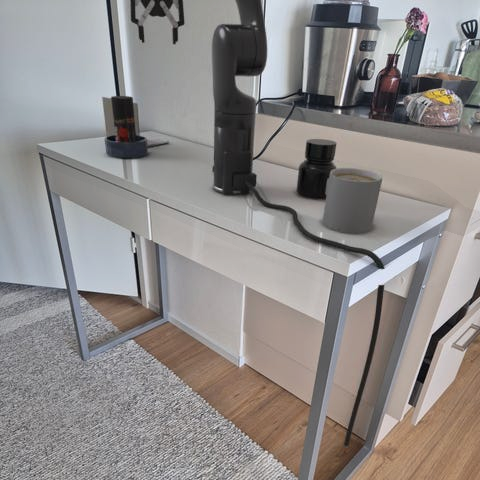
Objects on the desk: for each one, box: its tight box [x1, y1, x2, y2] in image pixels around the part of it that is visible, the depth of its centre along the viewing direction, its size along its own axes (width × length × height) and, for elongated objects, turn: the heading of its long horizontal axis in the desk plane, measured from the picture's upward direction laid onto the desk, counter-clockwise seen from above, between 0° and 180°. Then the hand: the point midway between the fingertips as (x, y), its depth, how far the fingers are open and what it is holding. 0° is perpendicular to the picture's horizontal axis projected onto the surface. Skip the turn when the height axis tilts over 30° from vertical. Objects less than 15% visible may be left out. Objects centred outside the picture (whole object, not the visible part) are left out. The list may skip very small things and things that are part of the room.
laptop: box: [101, 96, 170, 148], centre depth 143 cm, size 18×12×13 cm
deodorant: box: [110, 95, 136, 142], centre depth 127 cm, size 6×6×15 cm
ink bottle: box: [296, 138, 338, 200], centre depth 102 cm, size 10×9×12 cm
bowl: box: [104, 135, 149, 159], centre depth 130 cm, size 12×12×4 cm
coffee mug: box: [321, 167, 383, 234], centre depth 87 cm, size 13×10×10 cm
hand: (158, 43), depth 121 cm, fingers open, 8 cm apart
